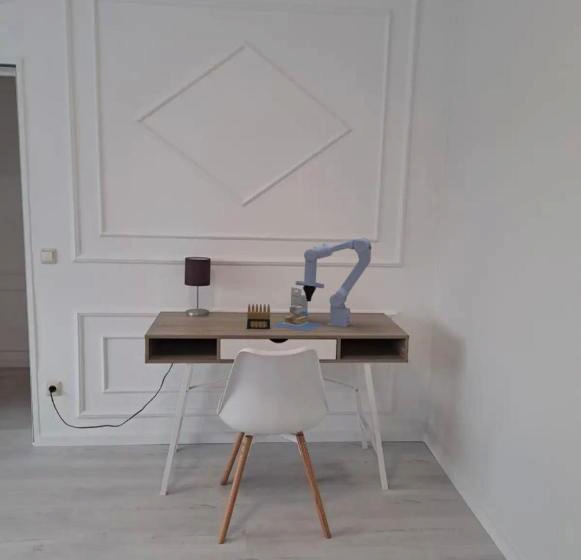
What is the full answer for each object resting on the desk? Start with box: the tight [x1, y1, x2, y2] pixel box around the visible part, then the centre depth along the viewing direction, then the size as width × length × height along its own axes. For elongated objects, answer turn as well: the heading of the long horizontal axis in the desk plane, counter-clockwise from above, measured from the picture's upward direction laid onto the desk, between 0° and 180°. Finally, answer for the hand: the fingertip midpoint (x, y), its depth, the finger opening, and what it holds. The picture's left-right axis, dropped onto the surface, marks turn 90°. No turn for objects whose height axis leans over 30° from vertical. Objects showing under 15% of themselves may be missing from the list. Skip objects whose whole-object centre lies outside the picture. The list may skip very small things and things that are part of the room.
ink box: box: [290, 287, 309, 317], centre depth 269 cm, size 8×5×15 cm, turn 39°
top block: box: [289, 305, 302, 318], centre depth 250 cm, size 4×4×5 cm
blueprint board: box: [270, 319, 325, 332], centre depth 246 cm, size 20×18×1 cm
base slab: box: [283, 314, 308, 325], centre depth 251 cm, size 8×8×3 cm
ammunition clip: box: [246, 303, 271, 330], centre depth 236 cm, size 11×2×12 cm, turn 91°
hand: (308, 301), depth 254 cm, fingers closed
